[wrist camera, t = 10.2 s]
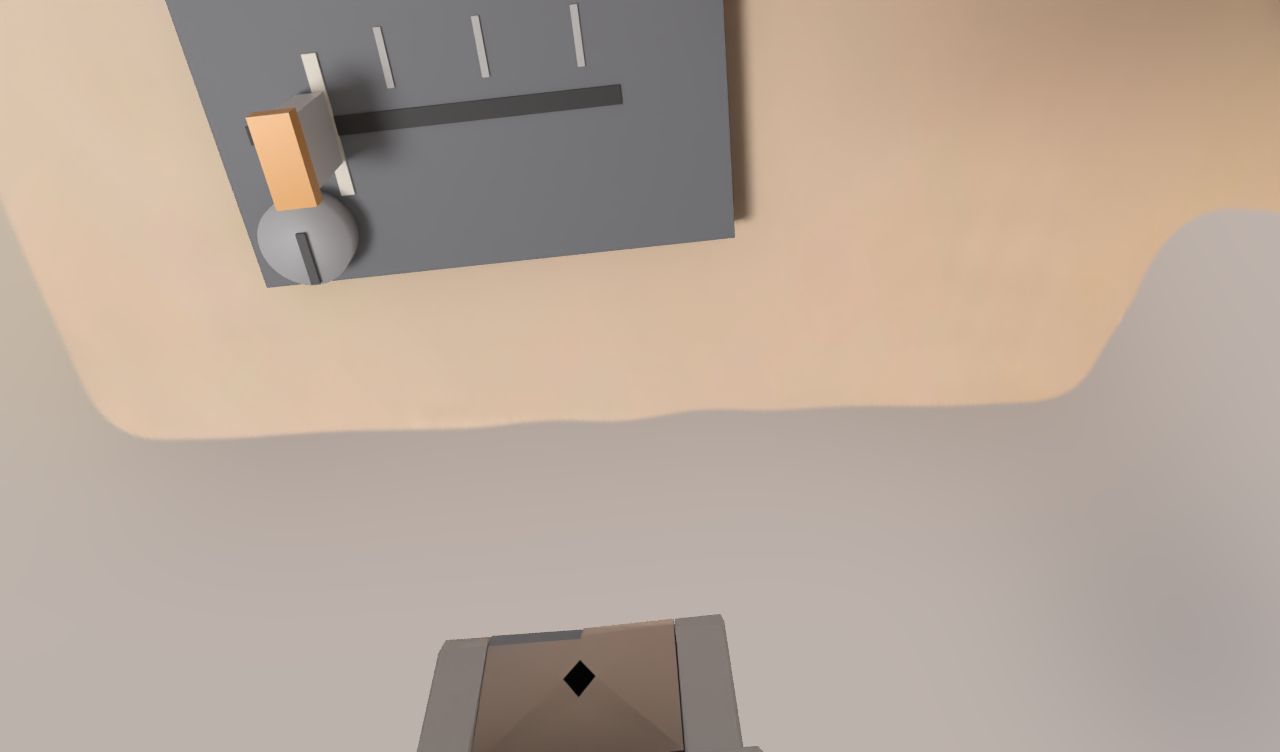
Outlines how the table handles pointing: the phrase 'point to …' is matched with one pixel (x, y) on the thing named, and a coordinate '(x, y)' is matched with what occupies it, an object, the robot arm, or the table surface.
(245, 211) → the console
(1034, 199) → the table surface
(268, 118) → the fader
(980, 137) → the table surface
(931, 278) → the table surface
